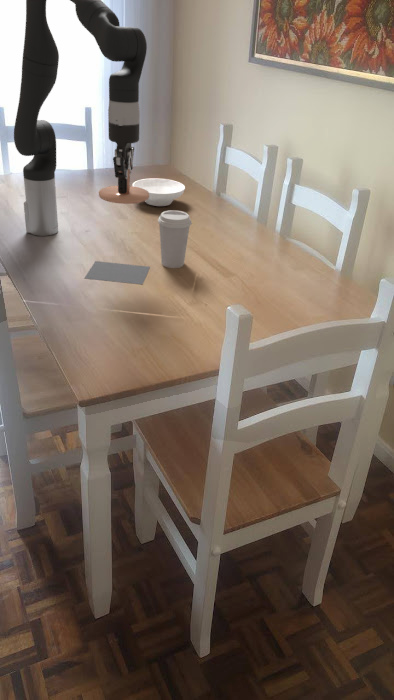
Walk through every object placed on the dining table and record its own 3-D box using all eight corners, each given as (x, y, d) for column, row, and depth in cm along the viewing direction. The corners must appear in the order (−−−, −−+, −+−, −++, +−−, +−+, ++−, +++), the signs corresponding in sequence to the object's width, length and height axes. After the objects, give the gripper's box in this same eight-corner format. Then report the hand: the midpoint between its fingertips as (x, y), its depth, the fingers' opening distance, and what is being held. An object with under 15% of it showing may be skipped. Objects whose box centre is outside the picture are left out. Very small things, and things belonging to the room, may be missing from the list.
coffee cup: (193, 261, 170) (196, 212, 162) (182, 273, 162) (185, 223, 155) (163, 255, 173) (165, 207, 165) (151, 267, 165) (152, 217, 157)
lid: (93, 200, 144) (92, 173, 140) (105, 186, 155) (105, 160, 151) (144, 205, 143) (144, 178, 139) (153, 191, 154) (153, 165, 150)
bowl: (194, 203, 218) (195, 185, 214) (164, 216, 204) (165, 197, 200) (152, 192, 226) (153, 175, 223) (121, 203, 212) (121, 185, 208)
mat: (84, 279, 155) (84, 278, 155) (95, 262, 165) (95, 261, 165) (142, 285, 154) (142, 284, 154) (150, 267, 164) (150, 266, 164)
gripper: (115, 114, 145) (116, 182, 154) (101, 124, 133) (103, 197, 143) (144, 116, 145) (143, 185, 154) (133, 127, 133) (132, 200, 142)
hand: (124, 190), depth 148 cm, fingers closed on lid, 2 cm apart
